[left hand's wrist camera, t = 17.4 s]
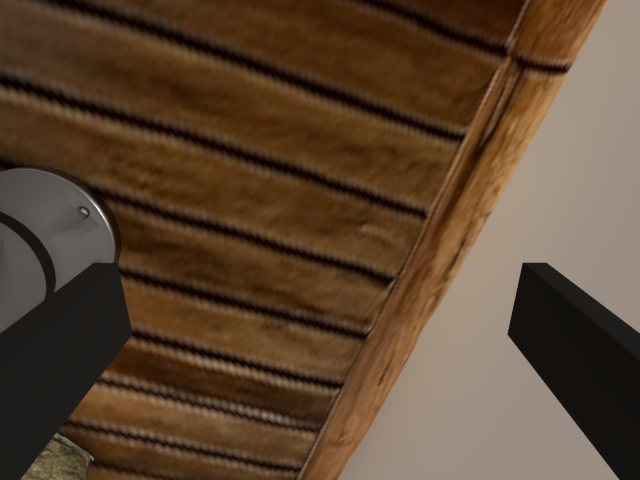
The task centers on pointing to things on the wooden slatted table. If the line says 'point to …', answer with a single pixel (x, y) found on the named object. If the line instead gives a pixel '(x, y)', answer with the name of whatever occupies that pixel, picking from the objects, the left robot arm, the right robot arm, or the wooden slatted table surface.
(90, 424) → the wooden slatted table surface
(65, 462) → the fossil
